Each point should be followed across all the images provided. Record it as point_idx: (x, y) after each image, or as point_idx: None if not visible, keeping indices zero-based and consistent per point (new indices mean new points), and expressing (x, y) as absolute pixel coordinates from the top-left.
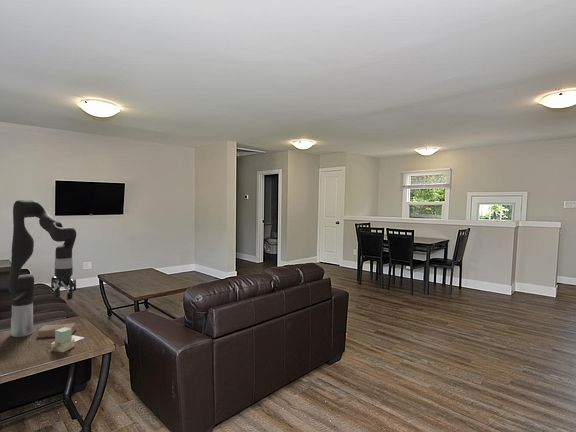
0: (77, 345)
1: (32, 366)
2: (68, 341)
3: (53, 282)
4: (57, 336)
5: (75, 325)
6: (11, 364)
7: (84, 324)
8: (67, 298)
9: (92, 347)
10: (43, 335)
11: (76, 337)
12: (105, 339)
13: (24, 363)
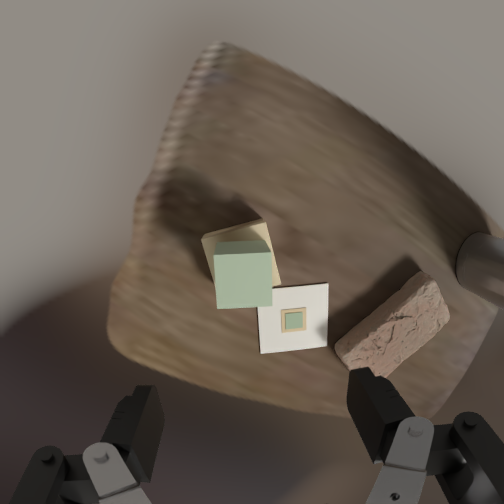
0: None
1: (188, 106)
2: None
3: (489, 490)
4: (249, 247)
5: None
6: (275, 82)
7: None
8: (142, 391)
9: (149, 311)
10: (409, 284)
11: (291, 340)
12: (178, 375)
13: (240, 105)
